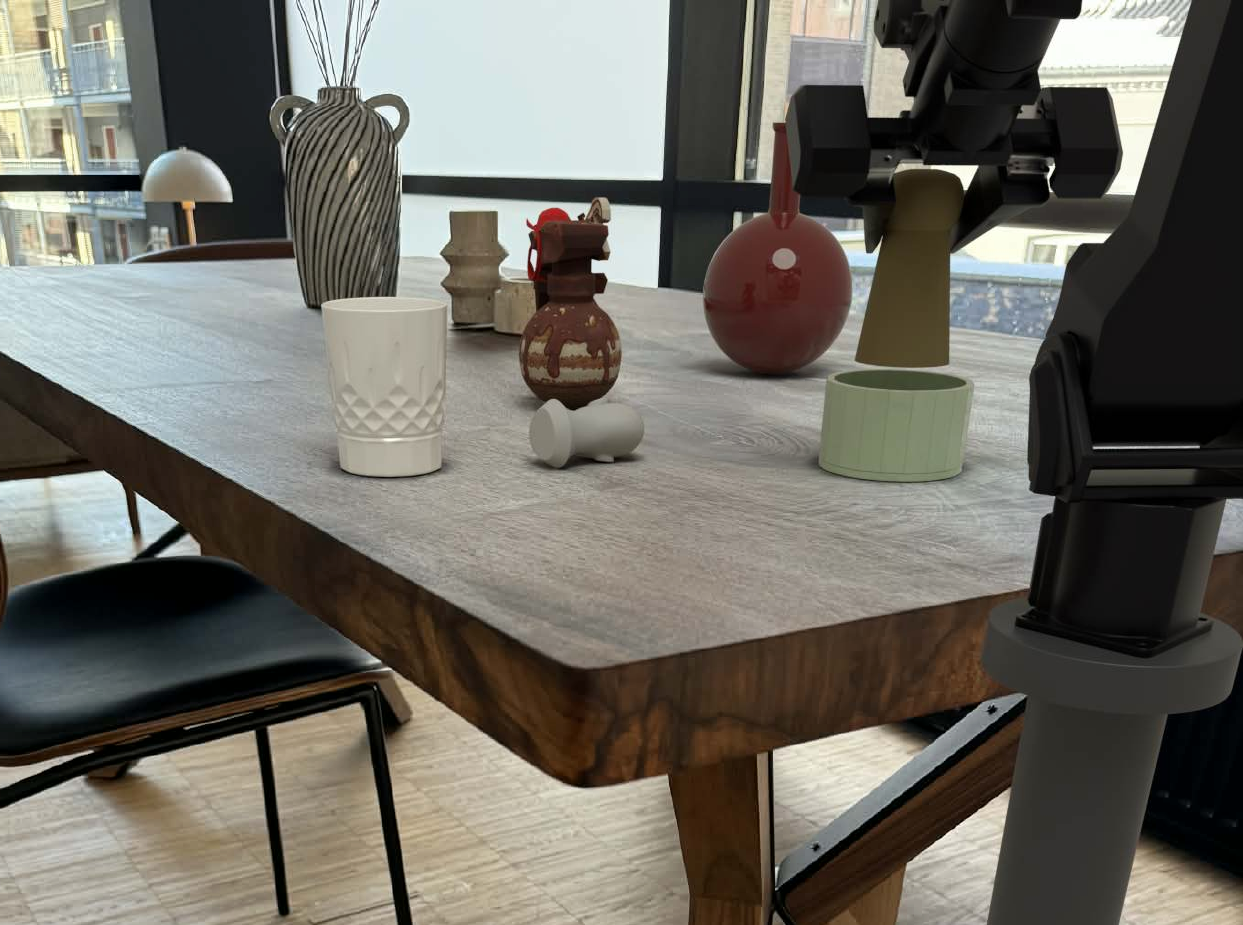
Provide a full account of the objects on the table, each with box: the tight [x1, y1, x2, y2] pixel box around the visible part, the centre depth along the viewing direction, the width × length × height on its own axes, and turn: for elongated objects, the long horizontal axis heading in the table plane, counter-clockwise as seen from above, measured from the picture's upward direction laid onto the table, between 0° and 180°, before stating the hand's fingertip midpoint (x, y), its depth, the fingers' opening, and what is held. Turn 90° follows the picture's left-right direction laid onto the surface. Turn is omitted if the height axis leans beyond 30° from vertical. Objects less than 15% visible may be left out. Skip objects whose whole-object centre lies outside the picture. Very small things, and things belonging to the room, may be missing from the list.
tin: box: [818, 368, 976, 483], centre depth 96 cm, size 9×9×6 cm
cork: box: [854, 168, 965, 369], centre depth 91 cm, size 6×6×11 cm
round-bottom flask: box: [702, 122, 854, 375], centre depth 127 cm, size 13×13×20 cm
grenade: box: [518, 197, 623, 409], centre depth 113 cm, size 10×8×15 cm
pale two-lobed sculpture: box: [528, 397, 645, 469], centre depth 97 cm, size 4×8×5 cm
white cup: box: [320, 296, 448, 478], centre depth 93 cm, size 8×8×10 cm
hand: (909, 247), depth 92 cm, fingers closed on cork, 5 cm apart
